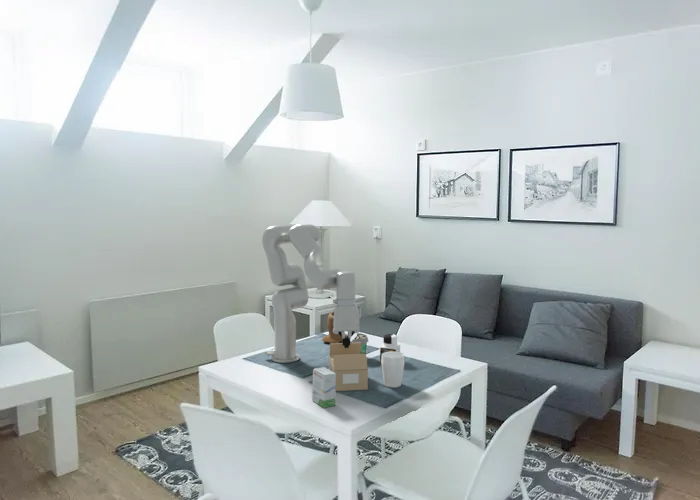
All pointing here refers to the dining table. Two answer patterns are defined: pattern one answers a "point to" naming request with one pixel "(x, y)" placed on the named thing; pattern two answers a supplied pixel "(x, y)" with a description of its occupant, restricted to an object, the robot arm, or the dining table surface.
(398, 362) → the cup
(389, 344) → the medicine bottle
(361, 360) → the near flap
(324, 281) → the robot arm
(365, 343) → the food container
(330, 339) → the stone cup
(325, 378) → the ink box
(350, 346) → the far flap
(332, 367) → the carton
